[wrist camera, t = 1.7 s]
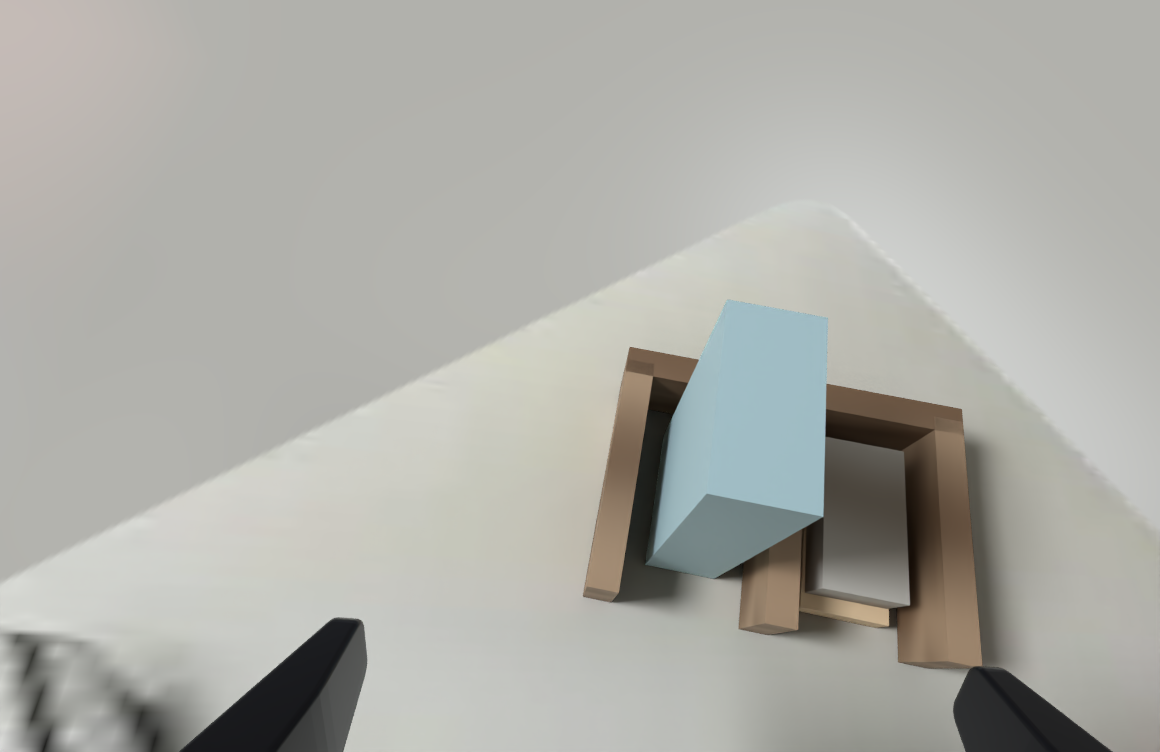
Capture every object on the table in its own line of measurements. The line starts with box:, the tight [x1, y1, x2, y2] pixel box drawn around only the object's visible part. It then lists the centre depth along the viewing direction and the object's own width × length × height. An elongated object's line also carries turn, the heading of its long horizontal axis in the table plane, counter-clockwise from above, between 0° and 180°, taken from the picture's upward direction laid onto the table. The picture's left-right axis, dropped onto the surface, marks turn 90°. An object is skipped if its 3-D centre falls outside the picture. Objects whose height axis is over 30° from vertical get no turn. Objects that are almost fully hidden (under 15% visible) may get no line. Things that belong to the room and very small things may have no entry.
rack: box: [583, 347, 982, 668], centre depth 22 cm, size 8×12×3 cm
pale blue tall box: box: [645, 300, 828, 579], centre depth 19 cm, size 5×2×10 cm, turn 169°
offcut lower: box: [799, 526, 889, 628], centre depth 23 cm, size 6×3×2 cm, turn 168°
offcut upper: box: [805, 437, 910, 609], centre depth 22 cm, size 5×3×2 cm, turn 169°
